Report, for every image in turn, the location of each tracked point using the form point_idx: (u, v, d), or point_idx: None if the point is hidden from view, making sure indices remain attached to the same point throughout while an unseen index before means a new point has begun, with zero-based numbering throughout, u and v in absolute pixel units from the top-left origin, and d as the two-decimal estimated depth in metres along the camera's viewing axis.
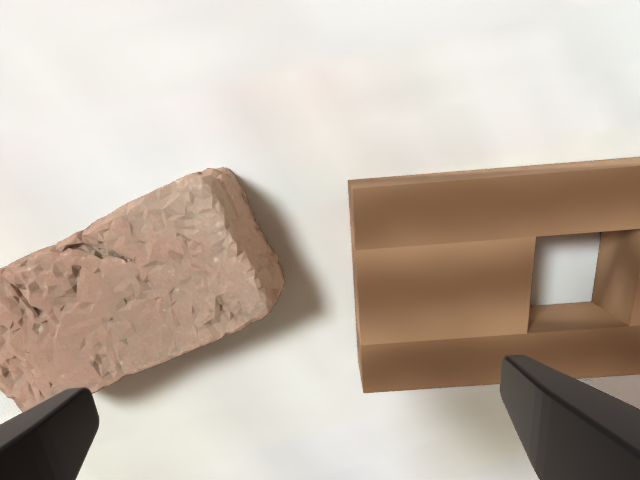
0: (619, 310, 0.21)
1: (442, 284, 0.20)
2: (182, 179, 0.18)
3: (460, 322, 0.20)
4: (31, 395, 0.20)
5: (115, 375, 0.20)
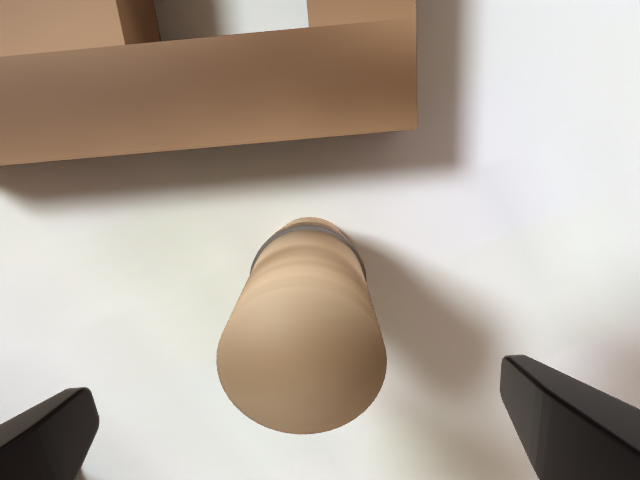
0: None
1: None
2: None
3: None
4: None
5: None
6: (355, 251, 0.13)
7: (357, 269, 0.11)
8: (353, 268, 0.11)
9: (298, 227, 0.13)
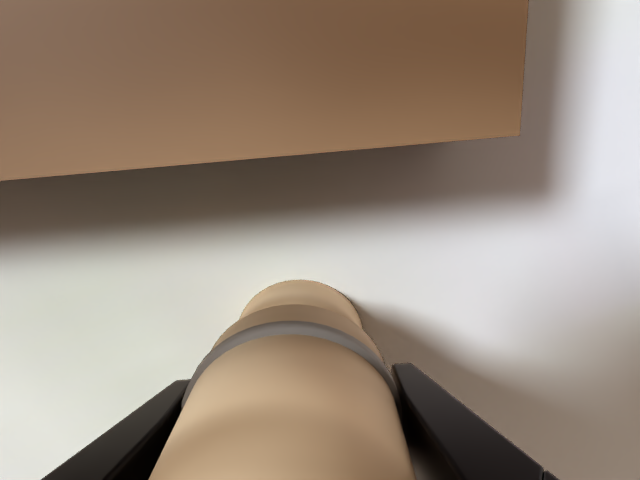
0: None
1: None
2: None
3: None
4: None
5: None
6: (384, 372, 0.07)
7: (398, 454, 0.05)
8: (393, 468, 0.05)
9: (272, 329, 0.07)
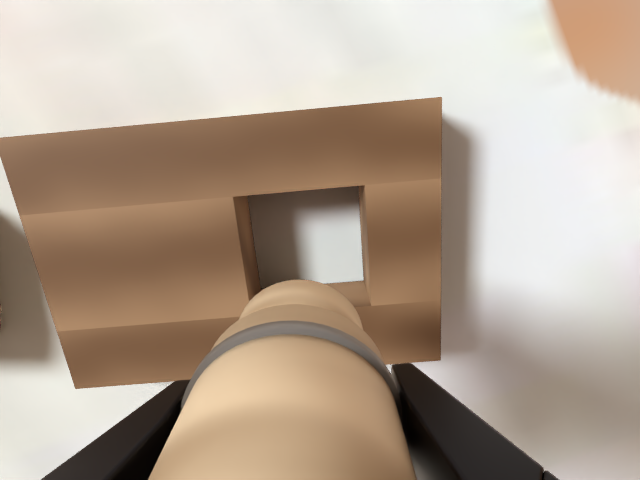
0: (368, 288, 0.18)
1: (135, 257, 0.17)
2: None
3: (168, 302, 0.17)
4: None
5: None
6: (384, 372, 0.07)
7: (399, 454, 0.05)
8: (393, 468, 0.05)
9: (272, 329, 0.06)
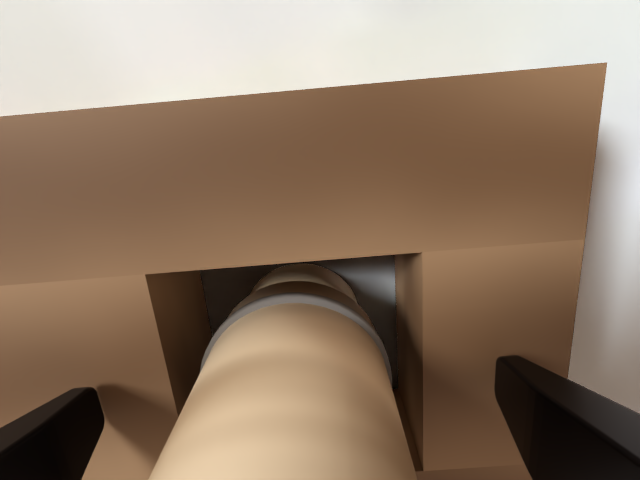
0: (414, 427, 0.10)
1: None
2: None
3: None
4: None
5: None
6: (375, 336, 0.08)
7: (384, 393, 0.06)
8: (378, 400, 0.06)
9: (279, 298, 0.08)
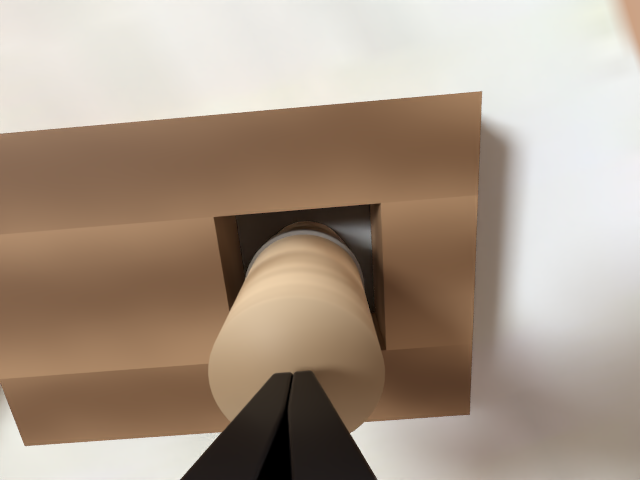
0: (382, 326, 0.15)
1: (92, 290, 0.13)
2: None
3: (135, 345, 0.14)
4: None
5: None
6: (353, 256, 0.13)
7: (355, 275, 0.11)
8: (350, 274, 0.11)
9: (294, 232, 0.13)
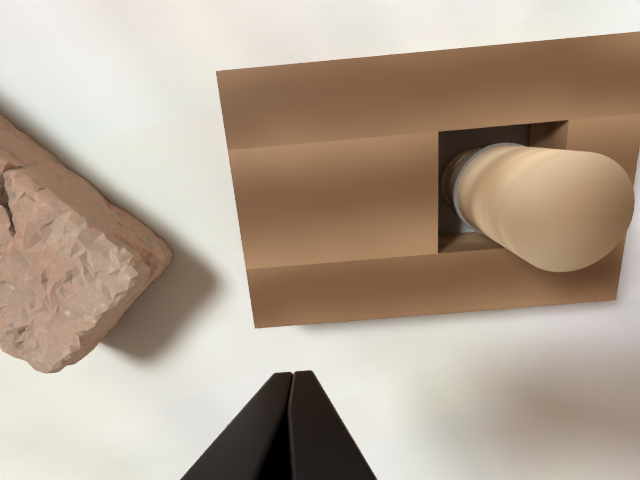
0: None
1: (334, 193, 0.17)
2: (128, 255, 0.17)
3: (359, 240, 0.18)
4: None
5: None
6: None
7: None
8: None
9: (500, 143, 0.16)
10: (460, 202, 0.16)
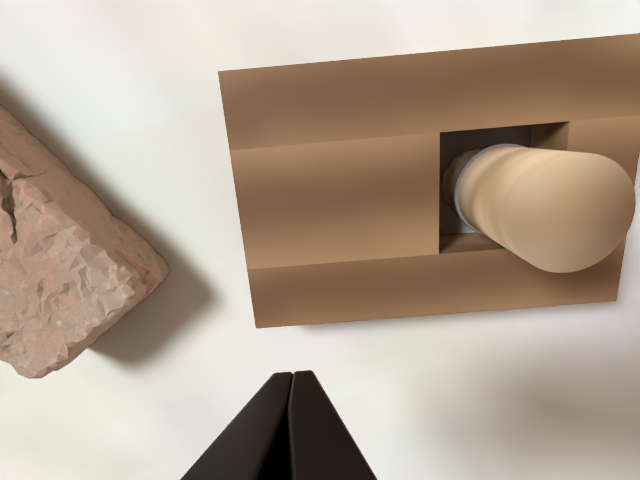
0: None
1: (335, 193, 0.17)
2: (126, 274, 0.18)
3: (360, 240, 0.18)
4: None
5: None
6: None
7: None
8: None
9: (501, 144, 0.16)
10: (461, 203, 0.17)
